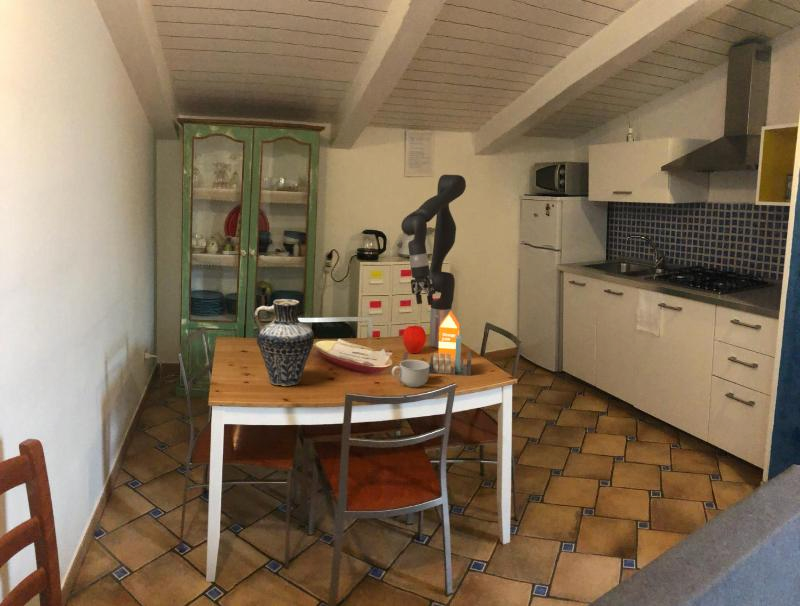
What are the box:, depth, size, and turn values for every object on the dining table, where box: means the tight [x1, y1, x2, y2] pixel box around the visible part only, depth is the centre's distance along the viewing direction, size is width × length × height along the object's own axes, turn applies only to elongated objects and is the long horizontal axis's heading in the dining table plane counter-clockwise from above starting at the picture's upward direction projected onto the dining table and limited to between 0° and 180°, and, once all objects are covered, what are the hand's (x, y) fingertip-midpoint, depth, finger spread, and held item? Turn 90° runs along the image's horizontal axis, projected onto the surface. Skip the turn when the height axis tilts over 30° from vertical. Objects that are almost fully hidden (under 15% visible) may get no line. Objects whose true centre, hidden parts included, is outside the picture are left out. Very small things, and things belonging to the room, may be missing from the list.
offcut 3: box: [445, 353, 452, 373], centre depth 258 cm, size 2×10×5 cm, turn 175°
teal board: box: [454, 334, 462, 372], centre depth 257 cm, size 2×6×13 cm, turn 175°
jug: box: [253, 298, 315, 387], centre depth 236 cm, size 21×19×30 cm
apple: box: [402, 324, 427, 354], centre depth 284 cm, size 10×10×12 cm
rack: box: [401, 350, 472, 377], centre depth 258 cm, size 26×14×7 cm, turn 85°
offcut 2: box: [439, 353, 445, 373], centre depth 258 cm, size 2×10×5 cm, turn 175°
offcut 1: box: [433, 352, 439, 372], centre depth 258 cm, size 2×10×5 cm, turn 175°
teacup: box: [391, 359, 430, 388], centre depth 240 cm, size 14×11×8 cm
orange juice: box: [438, 311, 460, 362], centre depth 274 cm, size 8×9×20 cm
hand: (425, 304), depth 275 cm, fingers open, 8 cm apart
